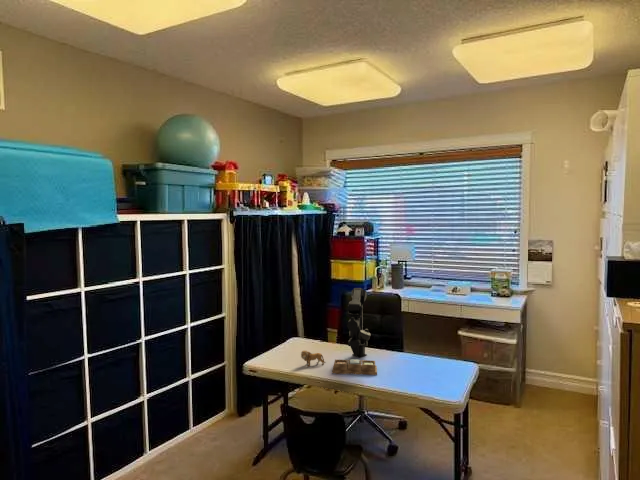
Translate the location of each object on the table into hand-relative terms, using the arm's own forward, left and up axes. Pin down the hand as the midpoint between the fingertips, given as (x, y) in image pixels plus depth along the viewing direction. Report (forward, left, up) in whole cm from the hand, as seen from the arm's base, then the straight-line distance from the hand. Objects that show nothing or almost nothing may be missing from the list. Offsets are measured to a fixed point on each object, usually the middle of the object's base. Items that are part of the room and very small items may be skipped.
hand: (354, 354), depth 241 cm
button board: (0, 0, -9) cm, 9 cm away
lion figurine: (+12, -22, -10) cm, 27 cm away
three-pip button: (+5, -5, -7) cm, 11 cm away
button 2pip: (-5, +5, -7) cm, 10 cm away
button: (0, 0, -6) cm, 6 cm away
